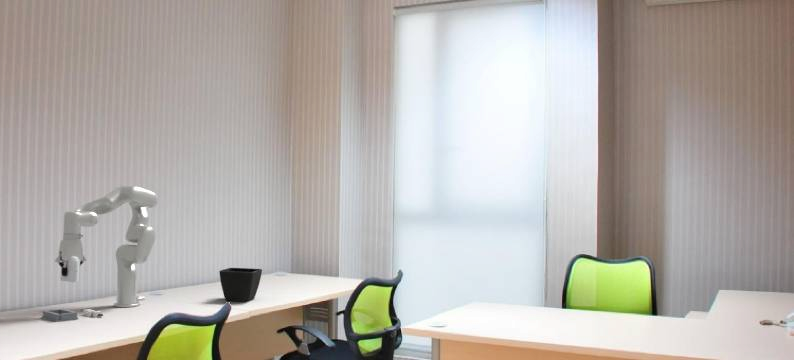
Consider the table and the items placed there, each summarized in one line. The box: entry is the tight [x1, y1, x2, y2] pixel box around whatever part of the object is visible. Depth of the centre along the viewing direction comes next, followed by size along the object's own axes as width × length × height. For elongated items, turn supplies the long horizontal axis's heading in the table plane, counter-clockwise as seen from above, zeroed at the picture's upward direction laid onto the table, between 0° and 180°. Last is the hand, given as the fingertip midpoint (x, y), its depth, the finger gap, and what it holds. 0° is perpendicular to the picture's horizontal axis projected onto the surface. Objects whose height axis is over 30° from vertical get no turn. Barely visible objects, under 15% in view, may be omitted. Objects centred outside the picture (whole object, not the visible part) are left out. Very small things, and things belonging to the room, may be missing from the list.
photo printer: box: [60, 256, 81, 283], centre depth 345 cm, size 10×4×12 cm, turn 59°
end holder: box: [41, 308, 79, 323], centre depth 335 cm, size 10×15×3 cm, turn 51°
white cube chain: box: [83, 308, 104, 318], centre depth 344 cm, size 4×13×2 cm, turn 51°
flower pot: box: [219, 267, 263, 303], centre depth 401 cm, size 19×19×17 cm
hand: (70, 275), depth 344 cm, fingers closed on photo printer, 4 cm apart
